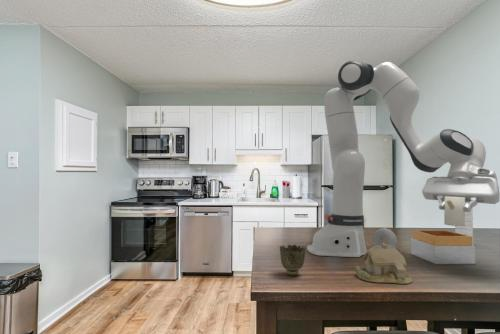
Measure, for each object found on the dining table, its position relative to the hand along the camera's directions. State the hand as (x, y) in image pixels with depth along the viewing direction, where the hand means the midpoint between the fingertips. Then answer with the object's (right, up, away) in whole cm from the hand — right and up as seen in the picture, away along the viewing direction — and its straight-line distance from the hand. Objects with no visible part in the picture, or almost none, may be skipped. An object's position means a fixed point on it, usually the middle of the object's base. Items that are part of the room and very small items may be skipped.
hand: (453, 209), depth 96 cm
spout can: (-1, -5, -1) cm, 5 cm away
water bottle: (+30, -21, +41) cm, 55 cm away
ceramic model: (-24, -19, -6) cm, 31 cm away
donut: (-12, -20, +21) cm, 31 cm away
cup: (-49, -19, -4) cm, 53 cm away
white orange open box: (+8, -20, +17) cm, 27 cm away
